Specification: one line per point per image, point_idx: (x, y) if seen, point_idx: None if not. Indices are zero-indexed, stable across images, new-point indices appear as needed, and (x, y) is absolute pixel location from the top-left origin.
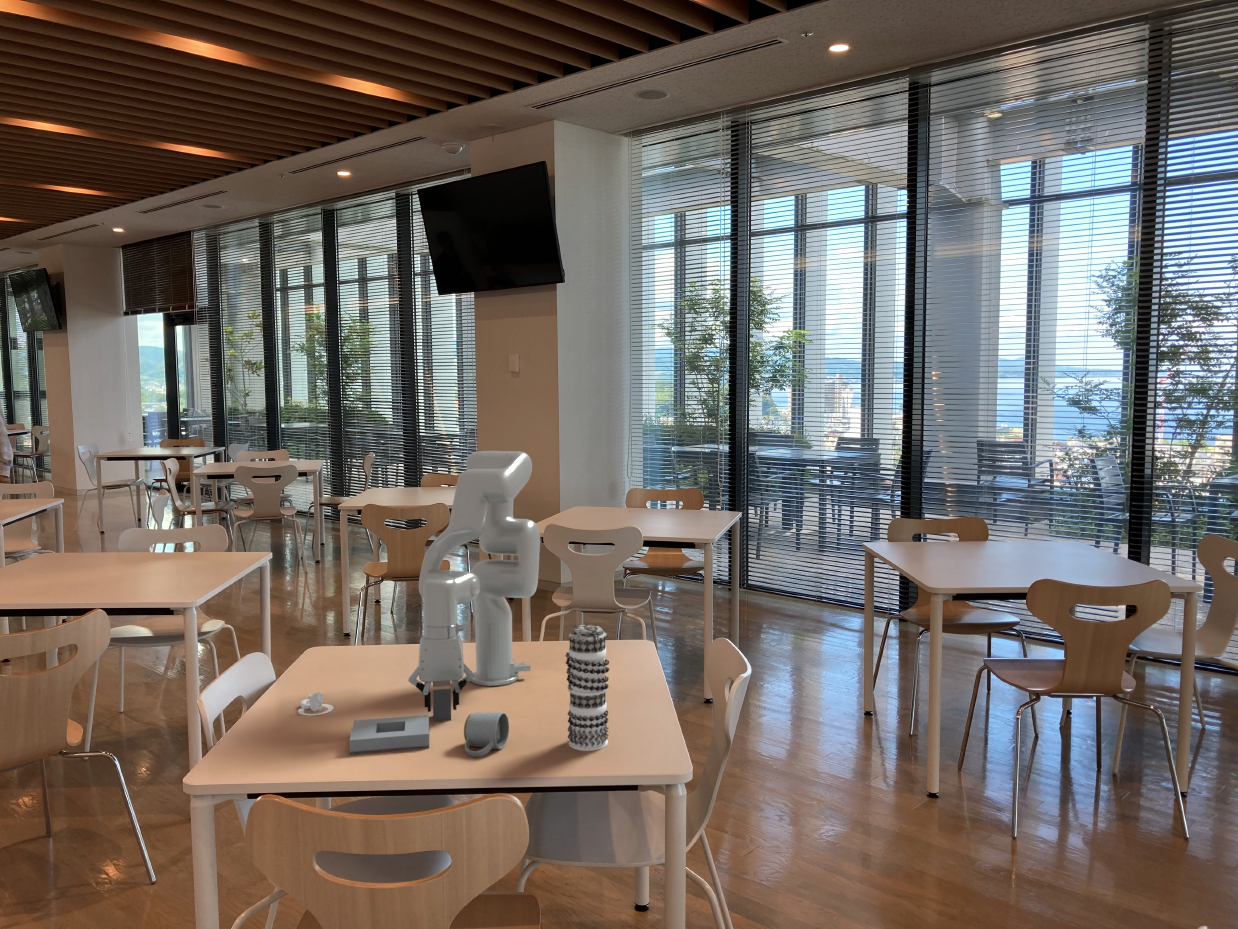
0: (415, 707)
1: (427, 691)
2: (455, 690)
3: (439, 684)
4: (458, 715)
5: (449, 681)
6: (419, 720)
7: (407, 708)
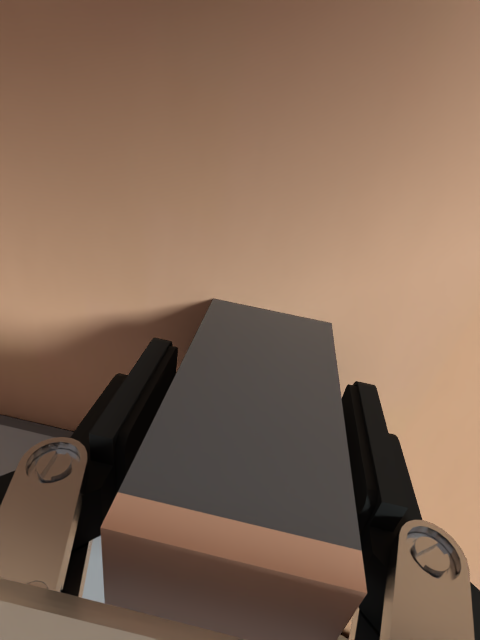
0: (85, 16)
1: (78, 548)
2: (358, 612)
3: (187, 622)
4: (373, 358)
5: (345, 607)
6: (96, 552)
7: (16, 19)
